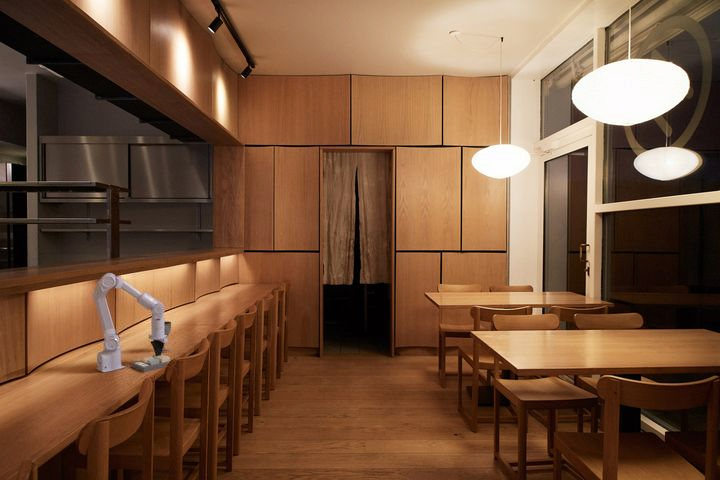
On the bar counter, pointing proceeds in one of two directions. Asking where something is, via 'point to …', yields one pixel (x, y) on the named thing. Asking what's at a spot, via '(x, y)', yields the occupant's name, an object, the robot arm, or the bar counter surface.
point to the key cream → (146, 359)
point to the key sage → (157, 356)
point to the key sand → (164, 359)
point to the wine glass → (166, 332)
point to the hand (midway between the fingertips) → (158, 355)
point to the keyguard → (147, 366)
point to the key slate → (153, 361)
